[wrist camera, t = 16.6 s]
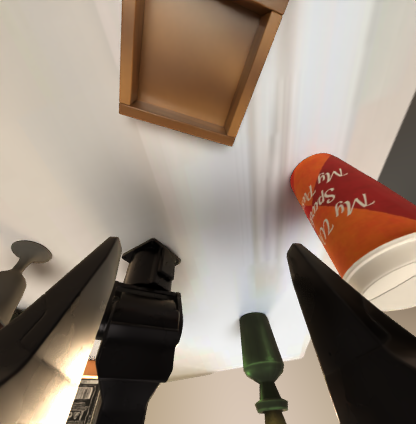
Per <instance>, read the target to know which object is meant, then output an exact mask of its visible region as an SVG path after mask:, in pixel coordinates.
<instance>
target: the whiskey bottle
mask: <svg viewBox="0 0 416 424" xmlns="http://www.w3.org/2000/svg"><path fill="white" fill-rule="evenodd" d="M100 397H101V394H100V388H99V382H98V376H97V371H96V365H95V361H94V360H87V363H86V366H85V369H84V372H83V375H82V378H81V380H80V383H79V386H78V389H77V392H76V395H75V398H74V401H73V404H72V406H71V409H70V412H69V415H68V418H67V421H66V424H93V421H94V418H95V414H96V411H97V407H98V404H99V400H100Z"/></svg>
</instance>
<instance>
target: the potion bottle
mask: <svg viewBox="0 0 416 424" xmlns="http://www.w3.org/2000/svg"><path fill="white" fill-rule="evenodd" d="M240 333H241V345H242V357H243V368H244V372H245V374H246V375H247V377H249V378H251V379H252V380H254V381H255V382H257V383H259V384H260V400H259V401H258V402H257V403H256V404H255V406H256V409H257V411H258V413H264V414H265V424H286V422H285V419H284V417H283V414H282V412H283V411H287V410H288V402H287V401H286V400H284V399H282V398H281V397H280V395H279V392H278V390H277V388H276V386H275V383H274V382H275V381H276V380H277V378H278V377H279V376H280V375H281V374H282V372H283V368H284V364H283V361H282V358H281V355H280V352H279V349H278V347H277V344H276V341H275V338H274V335H273V333H272V330H271V327H270V324H269V321H268V319H267V317H266V316H265V315H264V314H262V313H249V314H246V315H244V316H242V317H241V319H240Z"/></svg>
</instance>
